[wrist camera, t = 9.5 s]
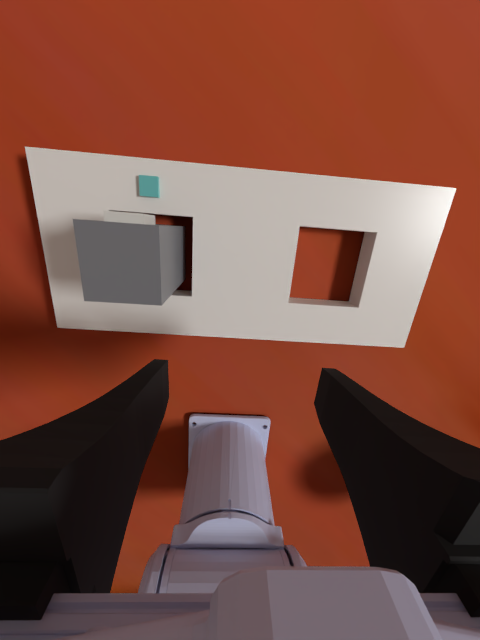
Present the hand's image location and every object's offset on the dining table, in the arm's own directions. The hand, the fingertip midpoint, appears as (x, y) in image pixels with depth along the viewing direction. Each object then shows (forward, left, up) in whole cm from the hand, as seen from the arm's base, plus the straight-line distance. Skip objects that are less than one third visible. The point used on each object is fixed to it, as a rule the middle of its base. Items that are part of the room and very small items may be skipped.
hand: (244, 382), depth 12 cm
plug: (+5, +7, -11) cm, 13 cm away
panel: (+4, 0, -10) cm, 11 cm away
